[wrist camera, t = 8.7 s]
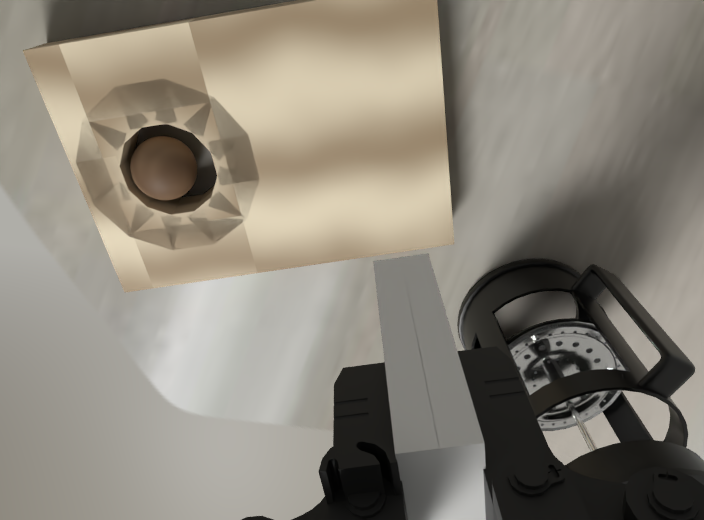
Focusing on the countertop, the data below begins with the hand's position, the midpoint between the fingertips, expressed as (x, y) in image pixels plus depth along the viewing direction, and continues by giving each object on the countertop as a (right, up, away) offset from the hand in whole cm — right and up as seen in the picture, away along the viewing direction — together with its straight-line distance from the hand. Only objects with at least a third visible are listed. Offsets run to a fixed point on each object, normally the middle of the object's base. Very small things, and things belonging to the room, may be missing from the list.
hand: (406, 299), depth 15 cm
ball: (-12, +6, +15) cm, 20 cm away
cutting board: (-6, +8, +16) cm, 19 cm away
